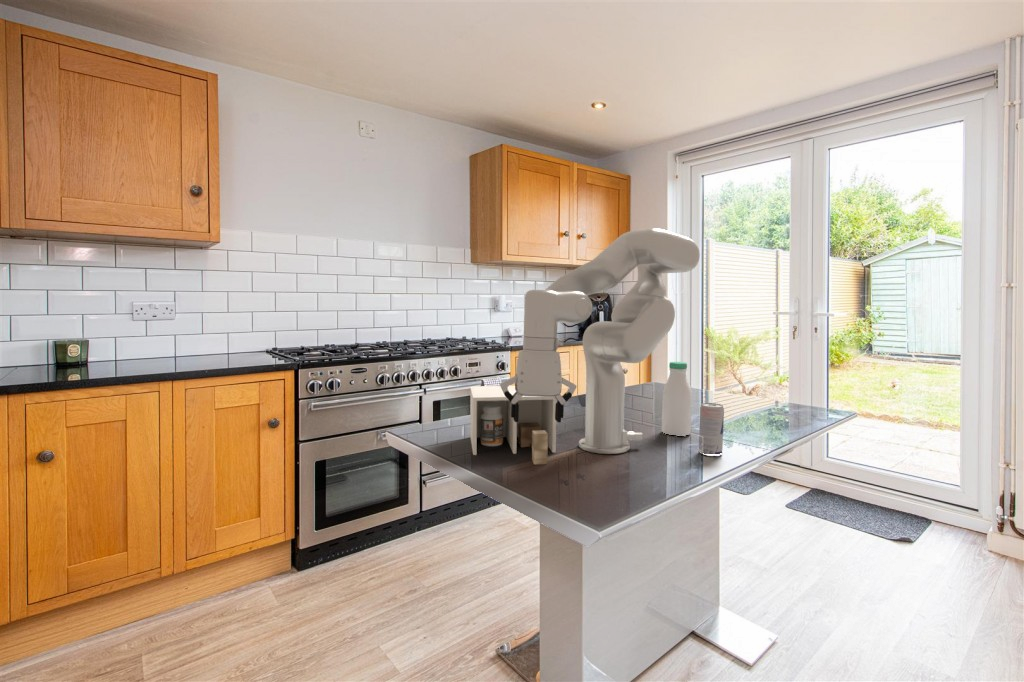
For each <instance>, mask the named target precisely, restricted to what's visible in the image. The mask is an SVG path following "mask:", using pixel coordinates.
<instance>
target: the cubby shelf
mask: <svg viewBox="0 0 1024 682" xmlns="http://www.w3.org/2000/svg"><path fill="white" fill-rule="evenodd" d="M469 388H470V389H469V391H470V393H469V394H470V395H469V396H470V397H469V398H470V399H469V401H470V402H469V403H470V407H469V409H470V410H469V411H470V413H469V414H470V421H469V425H470V428H469V430H470V431H469V432H470V435H469V438H470V444H471V451H472V455H473V456H477V454H478V453H477V451H478V450H477V439H481V415H482V414H483V413H484V412H483V405H487V404H497V405H500V406H501V411H500V413H501V414H502V416H503V438H506V440H507V443H508V444H509V447H510V449H511V452H512V454H513V455H514V454H515V455H516V454H517V448H518V447H517V443H518V442H517V441H518V440H517V438H519V423H532V422H538V424H539V425H540V426H541V430H545V431H546V432H547V433H548V449H550V452H551V453H557V452H556V451H557V449H556V448H557V421H556V420H555V407H556V402H557V399H556V398H555V397H554V396H522V397H521V398H520V399H519V401H518V404H519V417H518V421H517V422H515V421H514V419H513V418H512V417H511V402H510V401H509V400H508V399H507V397H506V396H505V395H504V393H503V391H502V389H501V387H500V385H478V386H476V385H474V386H472V385H471V386H470V387H469ZM508 391H509V392H510V394H511V395H512V396H513V394H514V393H515V392H516V390H515V385H510V386H508Z"/></svg>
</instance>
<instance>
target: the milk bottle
mask: <svg viewBox="0 0 1024 682" xmlns="http://www.w3.org/2000/svg"><path fill="white" fill-rule="evenodd" d="M668 368H669V374H668V375H669V376H668V378H667V379H666V380H667V381H666V382H665V384H664V386H663V389H662V390H663V392H662V404H661V405H662V407H661V409H662V410H661V433H662V432H663V433H662V434H664V433H665V434H664V435H666V434H669V435H688V434H690V435H691V433H692V432H691V431H692V429H691V428H692V408H693V407H692V405H693V404H692V402H693V401H692V400H693V399H692V398H693V396H692V393H693V392H692V387H691V385H690V383H689V380H688V378H687V371H688V370H687V369H688V364H687V362H686V361H685V362H684V361H670V362H669V367H668ZM669 435H668V436H669Z"/></svg>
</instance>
